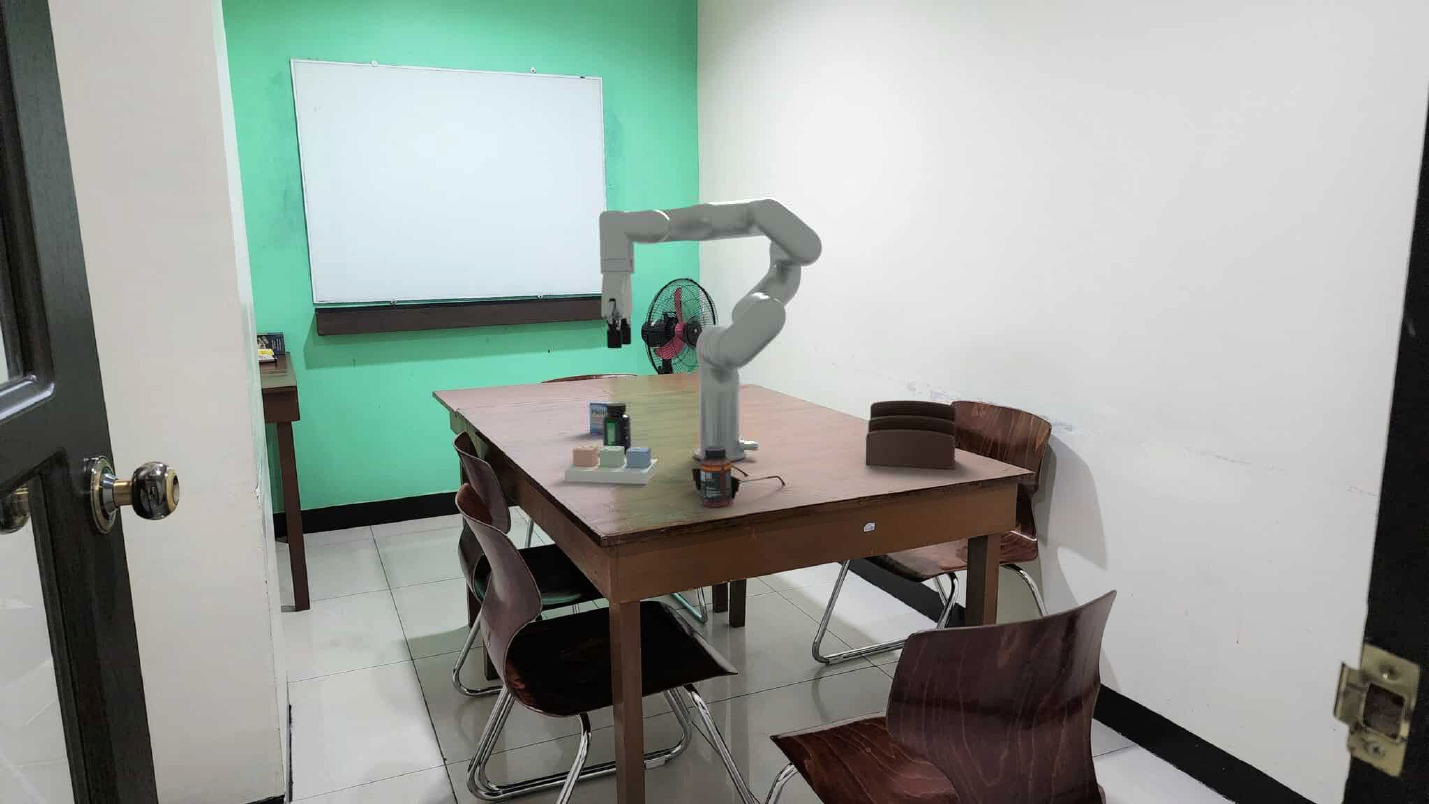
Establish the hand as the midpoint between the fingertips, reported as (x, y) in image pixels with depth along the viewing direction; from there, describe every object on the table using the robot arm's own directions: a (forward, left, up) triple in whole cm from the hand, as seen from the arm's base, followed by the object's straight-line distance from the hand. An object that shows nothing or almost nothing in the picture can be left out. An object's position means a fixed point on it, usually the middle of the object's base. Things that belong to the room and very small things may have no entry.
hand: (619, 345), depth 195 cm
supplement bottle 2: (-26, +28, -28) cm, 47 cm away
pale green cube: (0, +9, -26) cm, 27 cm away
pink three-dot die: (+6, +9, -26) cm, 28 cm away
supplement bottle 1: (+5, -14, -28) cm, 32 cm away
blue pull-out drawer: (-6, +9, -26) cm, 28 cm away
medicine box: (+14, -36, -28) cm, 48 cm away
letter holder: (-66, -11, -28) cm, 73 cm away
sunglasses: (-29, +15, -29) cm, 44 cm away
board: (0, +9, -28) cm, 29 cm away
